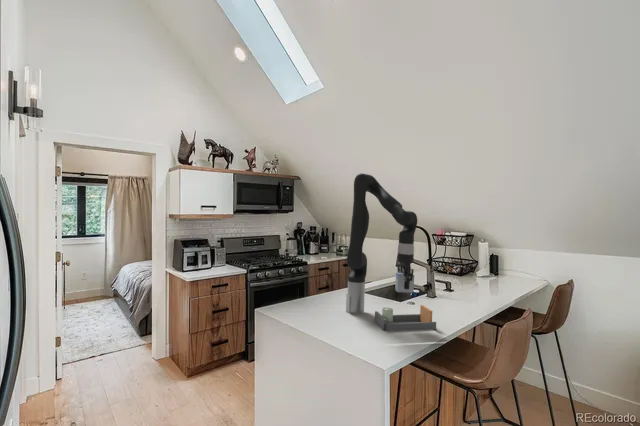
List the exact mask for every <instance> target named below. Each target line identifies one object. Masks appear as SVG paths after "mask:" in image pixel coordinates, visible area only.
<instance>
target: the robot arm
mask: <svg viewBox="0 0 640 426" xmlns="http://www.w3.org/2000/svg"><path fill="white" fill-rule="evenodd" d="M366 193H370V194H371V195H373V196H375V197H376V199H377V200H378V202H379V204H380V205H381V207H383V208H384V210H385V211H387V212H388V213H389V214H390V215H391V216H392V218H393V219H394V220H395V222H396V223H397V224H399V225H400V226H402V227H403V228H402V230H401V231H399V234H398V246H397V259H396V260H397V262H398V263H399V264H396V266H397V269H396V270H397V273H403V276H404V279H405V282H404V289H409V282H410V281H412V278H413V275H414V270H415V269H413V268H412V267H411V264H413V263H414V259H415V257H414V255H415V244H414V243H415V242H414V241H415V233H416V229H417V225H418V216H417V214H416V213H415V212H414V211H410V210H407V211H406V210H405V209H404V208H403V205H402V203H400V201H398V200H397V199H396V198H395V197H393V196H392V195H391V194H390V193H389V192H388V191H387V190H385V188H384V187H383V186H382V185H381V184H380V183H379V181H378V180H377V179H376V177H374V176H373V175H372V174H368V173H358V174H357V175H356V176H355V178H354V180H353V205H352V216H351V226H350V236H349V246H348V250H347V251H348V252H347V256H346V263H347V266H348V268H349V269H350V271H349V274H348V275H347V293H346V296H345V297H346V299H345V301H346V302H345V304H346V305H345V312H346V313H347V314H355V315H360V314H361V315H362V314H364V313H365V296H366V295H365V291H366V277H367V272H368V271H367V269H368V257H367V256H366V254H365V253H364V252H363V246H364V242H365V239H366V237H367V233H368V230H369V224H370V213H369V209H368V205H367V203H366V198H367V197H366V195H367V194H366ZM406 274H407V275H406ZM406 276H407V278H406Z"/></svg>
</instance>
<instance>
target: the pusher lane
mask: <svg viewBox="0 0 640 426" xmlns="http://www.w3.org/2000/svg"><path fill="white" fill-rule="evenodd" d="M374 323H376V324H377V325H378V327H379V328H380V329H382V331H383V332H389V331H391V332H392V331H393V332H394V331H415V330H433V331H437V321H432V322H421V321H420V313H415V314H414V313H410V314H408V313H406V314H393V323H387V320H386V319H385V318H384V317H383V316H382V313H380V312H379V311H376V310H375V311H374Z"/></svg>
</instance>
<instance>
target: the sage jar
mask: <svg viewBox="0 0 640 426" xmlns="http://www.w3.org/2000/svg"><path fill="white" fill-rule="evenodd" d="M381 315H382V316H383V317H384V318H385V319H386V320H387V323H393V315H394V308H392V307H382V313H381Z"/></svg>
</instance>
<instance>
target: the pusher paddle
mask: <svg viewBox="0 0 640 426" xmlns="http://www.w3.org/2000/svg"><path fill="white" fill-rule="evenodd" d="M419 306H420V308H419V309H420V310H419V314H420V321H421V322H433V310H432V309H430V308H428V307H427V306H425V305H423V304H420V305H419Z"/></svg>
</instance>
